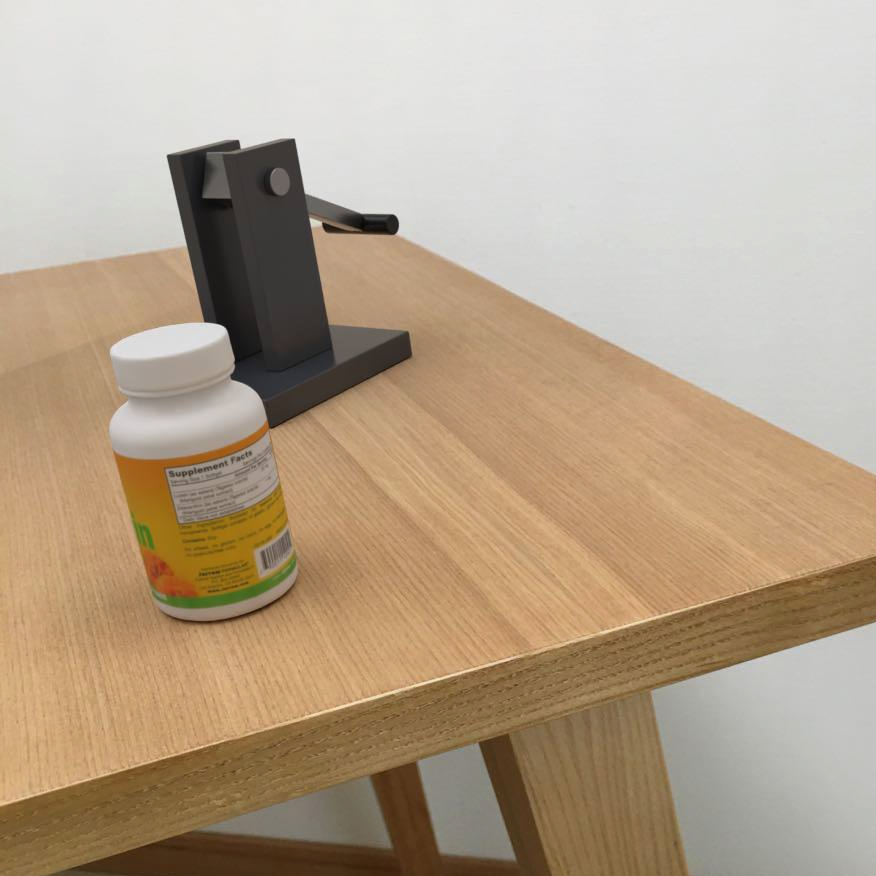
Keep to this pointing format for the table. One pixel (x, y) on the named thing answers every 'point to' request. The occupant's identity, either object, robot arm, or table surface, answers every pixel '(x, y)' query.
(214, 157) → the press lever
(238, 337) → the bracket
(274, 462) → the supplement bottle
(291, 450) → the table surface
